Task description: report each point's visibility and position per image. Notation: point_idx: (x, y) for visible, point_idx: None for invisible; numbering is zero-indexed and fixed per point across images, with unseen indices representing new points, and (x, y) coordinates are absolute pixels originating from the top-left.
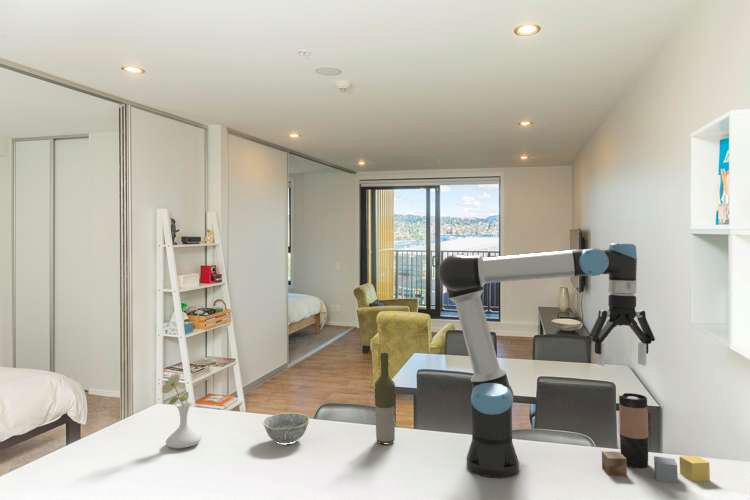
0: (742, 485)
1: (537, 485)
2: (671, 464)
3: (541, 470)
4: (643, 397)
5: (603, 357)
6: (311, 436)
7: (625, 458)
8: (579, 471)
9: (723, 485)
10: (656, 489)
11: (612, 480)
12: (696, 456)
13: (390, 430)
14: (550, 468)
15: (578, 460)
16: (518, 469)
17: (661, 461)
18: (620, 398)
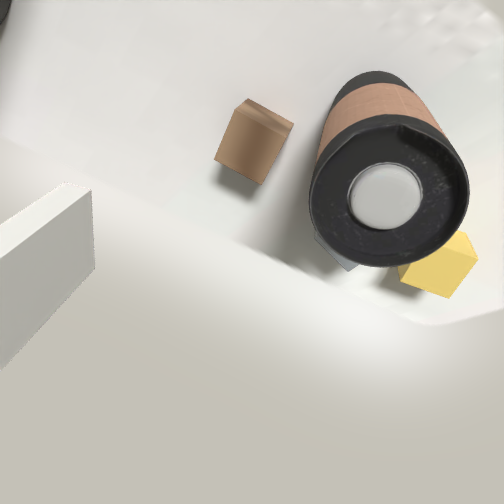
0: (477, 314)
1: (31, 112)
2: (341, 261)
3: (72, 35)
4: (454, 220)
5: (33, 320)
6: None
7: (260, 182)
8: (171, 88)
9: (437, 295)
10: (275, 242)
11: (217, 168)
12: (470, 263)
13: None
14: (103, 33)
15: (221, 12)
16: (2, 15)
17: None
18: (316, 169)
